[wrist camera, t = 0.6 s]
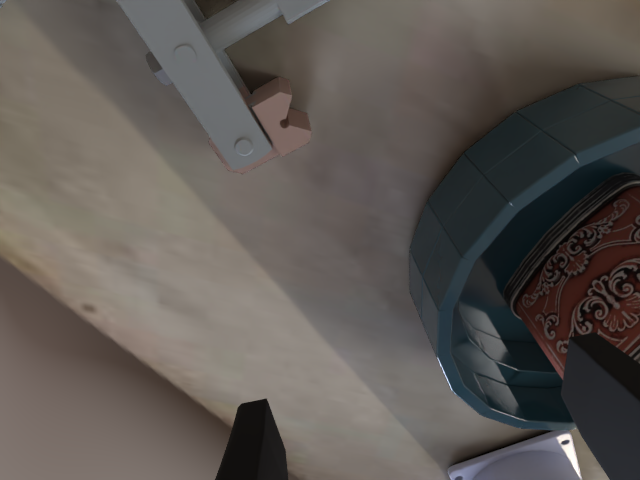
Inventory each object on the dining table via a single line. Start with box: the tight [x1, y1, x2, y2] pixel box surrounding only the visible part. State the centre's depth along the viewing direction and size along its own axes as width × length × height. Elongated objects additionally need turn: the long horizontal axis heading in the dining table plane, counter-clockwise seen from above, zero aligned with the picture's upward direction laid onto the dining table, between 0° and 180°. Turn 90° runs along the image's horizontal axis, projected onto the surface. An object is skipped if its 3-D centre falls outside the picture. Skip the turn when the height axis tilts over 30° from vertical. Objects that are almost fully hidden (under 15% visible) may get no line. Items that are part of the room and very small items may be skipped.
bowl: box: [410, 76, 640, 431], centre depth 21 cm, size 15×15×4 cm
